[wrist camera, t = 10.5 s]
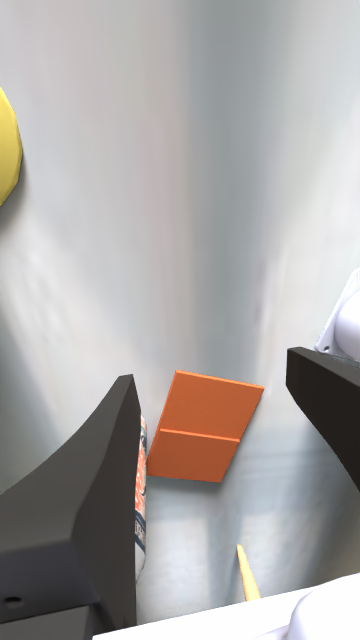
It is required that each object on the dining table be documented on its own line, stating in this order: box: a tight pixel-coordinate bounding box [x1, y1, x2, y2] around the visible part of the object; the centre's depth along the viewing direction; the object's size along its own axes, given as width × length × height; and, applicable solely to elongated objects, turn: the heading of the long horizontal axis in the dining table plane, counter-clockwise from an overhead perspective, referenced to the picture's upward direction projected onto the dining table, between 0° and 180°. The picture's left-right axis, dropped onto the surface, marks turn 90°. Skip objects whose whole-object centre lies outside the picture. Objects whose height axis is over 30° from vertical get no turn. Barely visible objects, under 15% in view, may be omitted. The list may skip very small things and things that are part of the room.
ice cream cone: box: [237, 544, 261, 602], centre depth 28 cm, size 6×6×15 cm
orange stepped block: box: [146, 370, 264, 483], centre depth 26 cm, size 9×13×1 cm
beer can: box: [135, 415, 147, 583], centre depth 20 cm, size 5×5×12 cm
